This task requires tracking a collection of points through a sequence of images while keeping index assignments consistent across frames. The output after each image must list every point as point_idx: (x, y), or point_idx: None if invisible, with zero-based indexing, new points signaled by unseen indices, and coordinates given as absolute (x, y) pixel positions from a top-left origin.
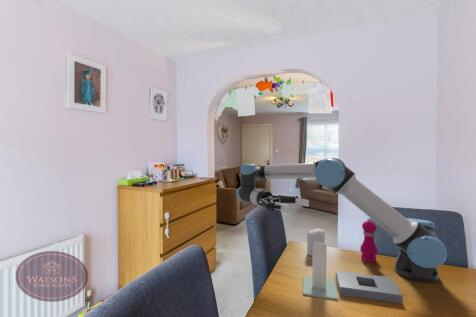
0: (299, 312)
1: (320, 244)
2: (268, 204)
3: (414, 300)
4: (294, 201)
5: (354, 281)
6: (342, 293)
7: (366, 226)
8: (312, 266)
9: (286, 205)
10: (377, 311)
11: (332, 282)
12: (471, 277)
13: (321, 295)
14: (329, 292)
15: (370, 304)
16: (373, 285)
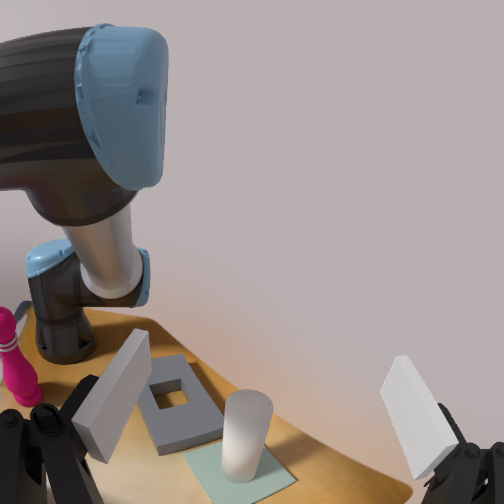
0: (345, 455)
1: (242, 405)
2: (498, 448)
3: (160, 354)
4: (43, 474)
5: (184, 409)
6: None
7: (8, 324)
8: (254, 459)
9: (410, 362)
10: (231, 385)
11: (195, 454)
12: None
13: (269, 453)
14: None
15: (218, 394)
16: (152, 393)
